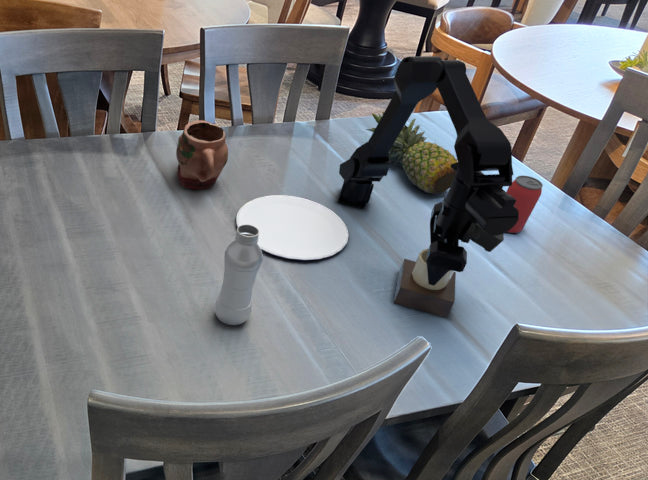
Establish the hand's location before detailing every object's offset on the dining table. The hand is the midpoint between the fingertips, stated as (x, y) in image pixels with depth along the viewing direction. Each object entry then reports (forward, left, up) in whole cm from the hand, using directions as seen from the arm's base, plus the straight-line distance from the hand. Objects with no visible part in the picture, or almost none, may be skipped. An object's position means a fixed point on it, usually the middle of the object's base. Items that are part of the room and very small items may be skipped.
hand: (432, 270), depth 122 cm
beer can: (+17, +35, -6) cm, 39 cm away
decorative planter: (-54, +20, -6) cm, 58 cm away
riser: (0, 0, -6) cm, 6 cm away
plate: (-29, +11, -6) cm, 32 cm away
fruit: (-7, +52, -6) cm, 53 cm away
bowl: (0, 0, -2) cm, 2 cm away
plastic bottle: (-33, -23, -6) cm, 41 cm away
